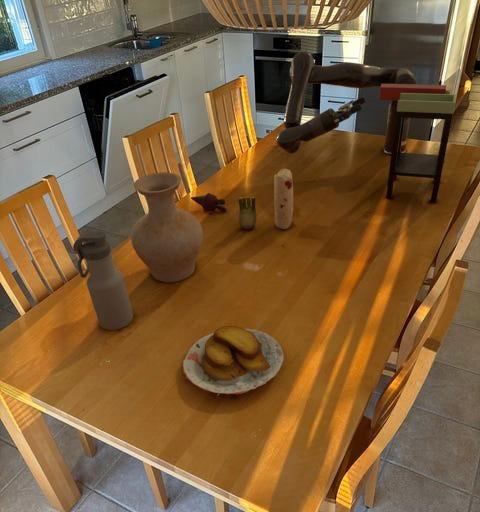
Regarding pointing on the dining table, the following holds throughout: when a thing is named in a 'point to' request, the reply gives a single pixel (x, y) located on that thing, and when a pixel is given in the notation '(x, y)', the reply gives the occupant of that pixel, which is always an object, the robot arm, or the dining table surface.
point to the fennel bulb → (247, 213)
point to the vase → (165, 230)
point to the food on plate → (233, 360)
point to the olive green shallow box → (426, 103)
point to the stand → (417, 162)
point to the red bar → (409, 90)
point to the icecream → (210, 202)
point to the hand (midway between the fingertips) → (362, 102)
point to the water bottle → (103, 281)
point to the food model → (283, 198)
